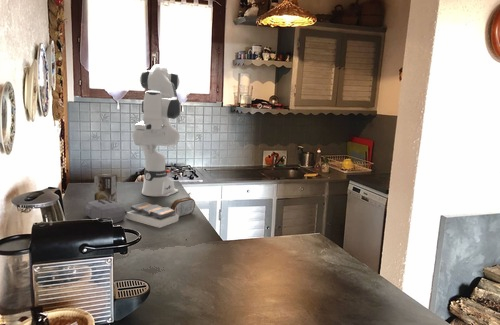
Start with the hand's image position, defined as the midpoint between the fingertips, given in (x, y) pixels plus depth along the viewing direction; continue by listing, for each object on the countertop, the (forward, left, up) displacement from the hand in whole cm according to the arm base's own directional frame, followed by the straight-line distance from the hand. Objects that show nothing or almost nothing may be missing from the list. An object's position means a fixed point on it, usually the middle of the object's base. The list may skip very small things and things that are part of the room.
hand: (151, 153), depth 198 cm
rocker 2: (+9, +10, -24) cm, 28 cm away
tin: (-6, +16, -29) cm, 34 cm away
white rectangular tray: (+9, +6, -29) cm, 31 cm away
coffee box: (+8, -22, -29) cm, 38 cm away
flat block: (+9, +16, -24) cm, 31 cm away
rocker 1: (+9, +3, -24) cm, 26 cm away
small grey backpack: (+21, -7, -30) cm, 37 cm away
